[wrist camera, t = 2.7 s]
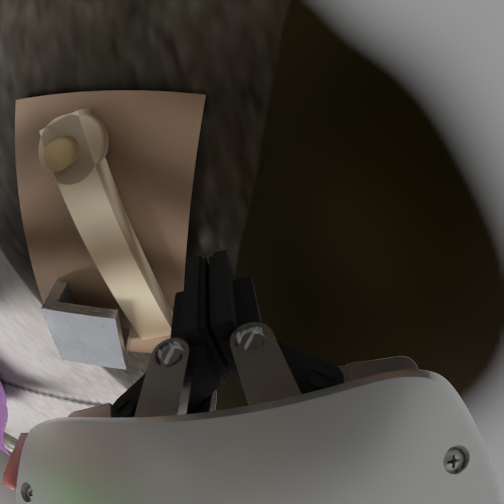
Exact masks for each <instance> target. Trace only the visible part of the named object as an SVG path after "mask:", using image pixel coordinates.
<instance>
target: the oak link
mask: <svg viewBox="0 0 504 504" xmlns="http://www.w3.org/2000/svg"><path fill="white" fill-rule="evenodd" d="M39 132H40V136H41V138H40V141H39V150H38V152H39V160H40V163H41V166H42V168H43V170H44V172H45V173H46V174H47V175H48V176H49V177H50V178H51V179H52V180H53V181H55V182H57V184H58V186H59V189H60V191H61V193H62V196H63V198H64V201H65V203H66V205H67V207H68V210H69V212H70V214H71V216H72V219H73V221H74V223H75V225H76V227H77V229H78V231H79V233H80V235H81V237H82V239H83V241H84V243H85V245H86V247H87V249H88V251H89V253H90V255H91V257H92V259H93V261H94V262H95V264H96V266H97V268H98V270H99V272H100V273H101V275H102V277H103V279H104V280H105V282H106V284H107V286H108V287H109V289H110V291H111V292H112V294H113V296H114V297H115V299H116V301H117V302H118V304H119V305H120V307H121V309H122V310H123V312H124V313H125V315H126V316H127V318H128V319H129V321H130V323H131V324H132V326H133V327H134V329H135V330H136V331H137V333H138V334H139V336H140V337H141V339H142V340H146V339H152V338H157V337H162V336H168V335H171V326H172V317H173V312H172V310H171V308H170V306H169V304H168V302H167V300H166V298H165V296H164V294H163V292H162V290H161V288H160V286H159V284H158V282H157V280H156V278H155V276H154V274H153V272H152V270H151V268H150V265H149V263H148V261H147V259H146V257H145V255H144V252H143V250H142V248H141V246H140V244H139V241H138V239H137V237H136V234H135V232H134V230H133V228H132V225H131V223H130V220H129V218H128V216H127V213H126V211H125V208H124V206H123V203H122V201H121V198H120V196H119V193H118V190H117V188H116V185H115V182H114V180H113V177H112V174H111V172H110V169H109V166H108V163H107V160H106V155H107V152H108V148H109V135H108V131H107V129H106V126H105V124H104V123H103V121H102V120H101V119H100V118H99V117H98V116H96V115H95V114H93V113H91V109H90V108H85V109H80V110H77V111H75V112H73V113H69V114H65V115H62V116H59V117H57V118H55V119H54V120H52V121H51V122H50V123H49V124H48V125H47V126H46V127H45V128H44V129H42V130H40V131H39Z"/></svg>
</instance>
